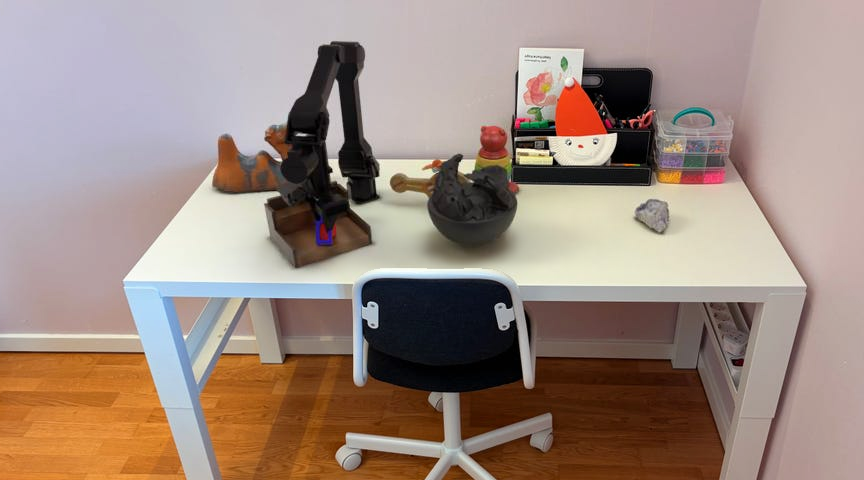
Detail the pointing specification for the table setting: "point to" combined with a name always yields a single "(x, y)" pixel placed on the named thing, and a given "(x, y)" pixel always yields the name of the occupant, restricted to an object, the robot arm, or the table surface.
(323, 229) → the toy building block
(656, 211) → the mineral specimen
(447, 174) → the coal bowl
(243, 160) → the camel toy
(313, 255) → the shelf
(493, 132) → the stacking bear
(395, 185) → the toy helicopter
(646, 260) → the table surface
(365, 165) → the robot arm
